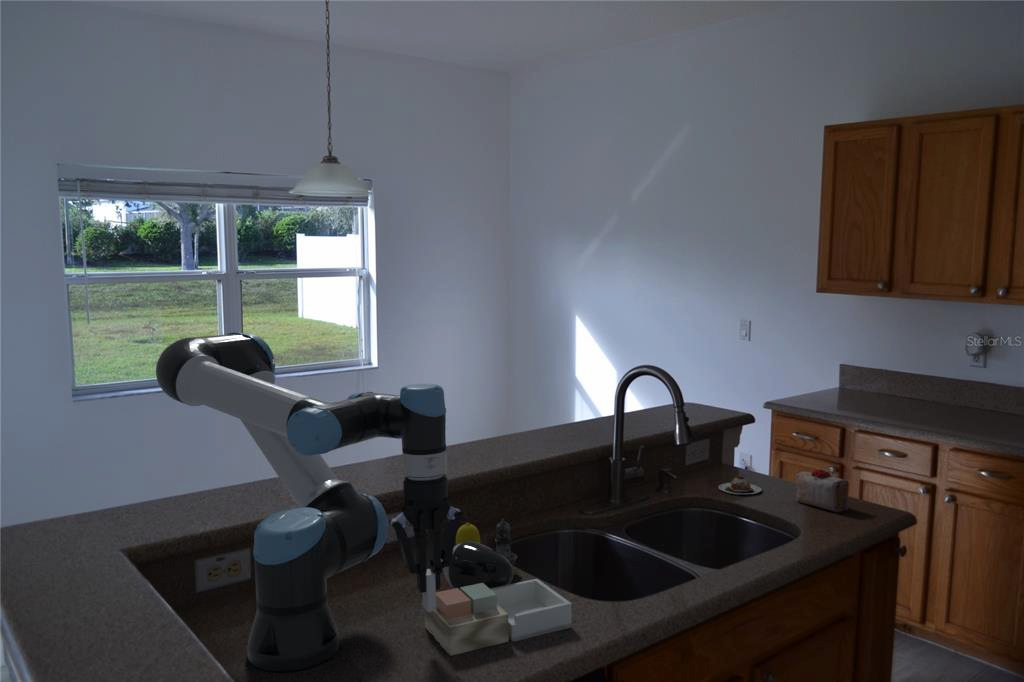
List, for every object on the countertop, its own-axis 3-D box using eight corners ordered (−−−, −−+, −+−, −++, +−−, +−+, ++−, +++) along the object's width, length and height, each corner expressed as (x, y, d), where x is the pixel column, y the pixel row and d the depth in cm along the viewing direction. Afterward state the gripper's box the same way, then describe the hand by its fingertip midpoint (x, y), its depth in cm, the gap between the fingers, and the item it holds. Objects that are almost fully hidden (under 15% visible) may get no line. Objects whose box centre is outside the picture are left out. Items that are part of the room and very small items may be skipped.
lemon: (452, 560, 177) (452, 526, 176) (460, 552, 182) (459, 518, 181) (476, 562, 176) (476, 527, 175) (483, 553, 181) (482, 519, 180)
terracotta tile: (447, 619, 136) (446, 605, 136) (434, 606, 141) (434, 592, 141) (471, 614, 138) (470, 600, 138) (457, 601, 143) (457, 588, 143)
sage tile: (473, 613, 138) (473, 599, 138) (460, 600, 144) (460, 587, 143) (496, 608, 140) (496, 594, 140) (482, 595, 146) (482, 582, 145)
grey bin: (512, 641, 138) (512, 617, 138) (481, 613, 150) (481, 590, 149) (571, 627, 143) (571, 603, 143) (537, 600, 155) (537, 578, 155)
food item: (790, 502, 218) (791, 467, 217) (808, 497, 222) (809, 462, 221) (834, 514, 207) (835, 477, 206) (852, 509, 211) (853, 472, 210)
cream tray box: (450, 655, 133) (449, 627, 133) (425, 627, 144) (424, 601, 144) (508, 641, 138) (508, 613, 138) (480, 615, 149) (479, 589, 149)
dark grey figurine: (484, 575, 168) (484, 520, 167) (498, 566, 173) (497, 512, 172) (509, 580, 166) (508, 524, 164) (522, 570, 171) (521, 516, 170)
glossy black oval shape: (444, 532, 160) (501, 540, 151) (476, 547, 167) (532, 556, 157) (428, 582, 156) (485, 594, 147) (461, 596, 163) (518, 608, 153)
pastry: (763, 498, 222) (763, 482, 222) (718, 496, 225) (719, 480, 225) (759, 487, 234) (760, 472, 234) (717, 485, 237) (718, 470, 236)
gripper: (395, 485, 129) (400, 624, 131) (468, 474, 135) (472, 608, 137) (381, 475, 136) (386, 608, 138) (452, 465, 141) (456, 593, 143)
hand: (429, 608), depth 137 cm, fingers closed
